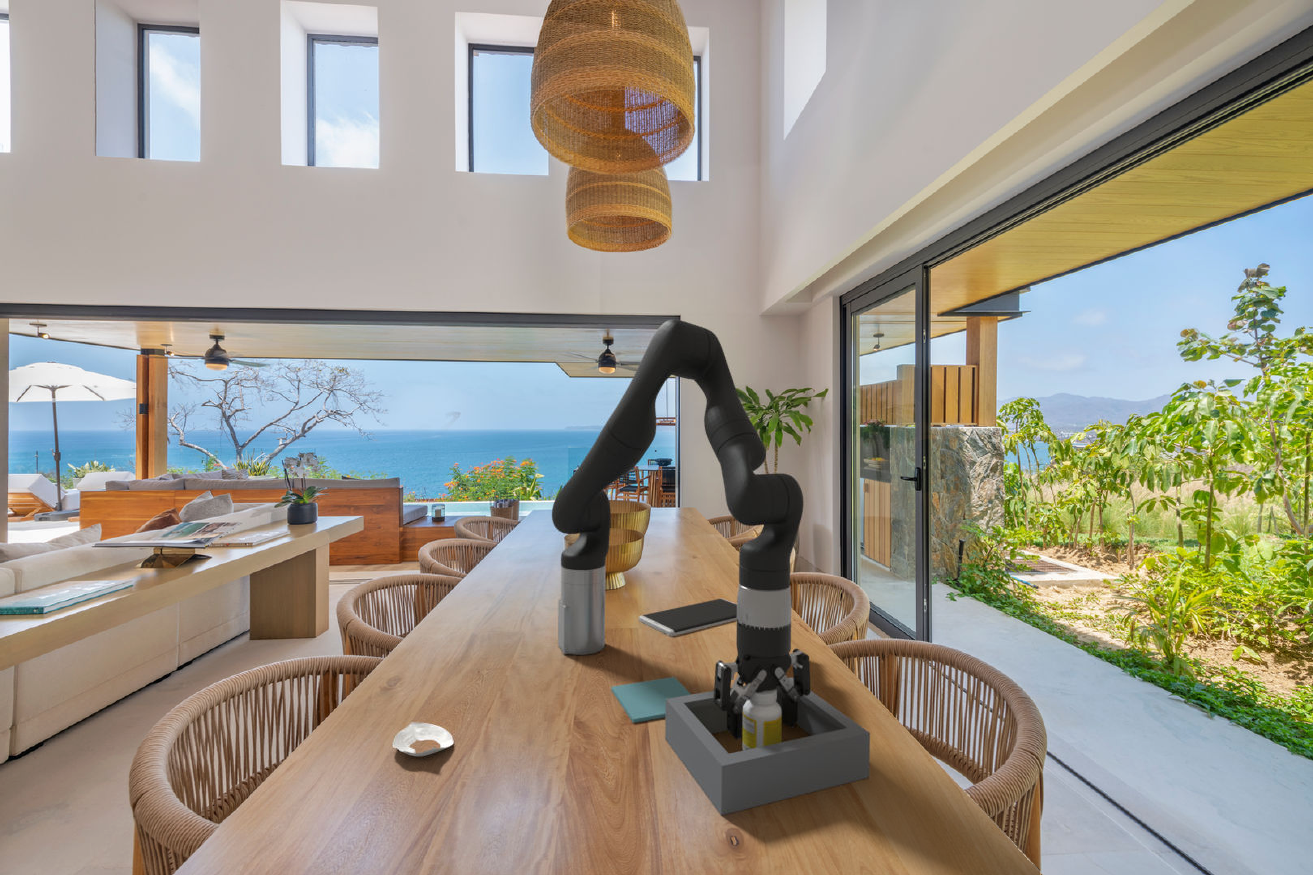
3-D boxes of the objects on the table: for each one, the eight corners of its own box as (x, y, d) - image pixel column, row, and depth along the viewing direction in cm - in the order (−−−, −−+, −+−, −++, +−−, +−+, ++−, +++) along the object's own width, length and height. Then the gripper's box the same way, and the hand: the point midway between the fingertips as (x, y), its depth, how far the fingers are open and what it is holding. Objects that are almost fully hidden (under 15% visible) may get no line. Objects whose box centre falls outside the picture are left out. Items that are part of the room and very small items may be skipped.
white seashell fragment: (402, 774, 76) (403, 754, 77) (382, 740, 86) (383, 723, 86) (462, 758, 81) (463, 740, 81) (437, 728, 91) (438, 711, 91)
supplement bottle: (783, 750, 84) (784, 683, 83) (778, 772, 78) (779, 700, 78) (745, 743, 85) (746, 677, 85) (738, 764, 80) (739, 693, 80)
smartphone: (758, 617, 144) (758, 610, 144) (671, 639, 128) (671, 631, 128) (721, 603, 155) (721, 597, 155) (637, 622, 139) (637, 615, 139)
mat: (633, 722, 91) (633, 719, 91) (611, 690, 102) (611, 686, 102) (702, 710, 95) (702, 706, 95) (674, 679, 106) (674, 676, 106)
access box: (721, 815, 70) (721, 765, 69) (665, 738, 86) (665, 698, 86) (869, 777, 77) (869, 732, 77) (791, 713, 94) (792, 677, 94)
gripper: (791, 603, 88) (790, 710, 88) (706, 613, 82) (704, 726, 83) (822, 619, 81) (821, 734, 81) (731, 631, 75) (730, 754, 76)
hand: (762, 730), depth 82 cm, fingers open, 8 cm apart
